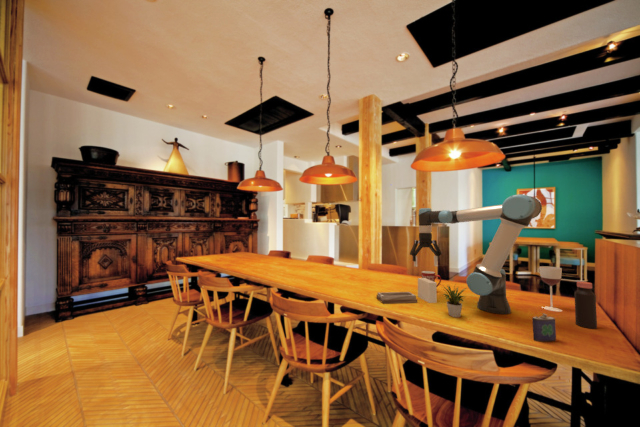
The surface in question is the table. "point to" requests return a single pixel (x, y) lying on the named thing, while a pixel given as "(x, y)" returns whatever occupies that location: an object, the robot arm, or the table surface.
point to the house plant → (454, 302)
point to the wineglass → (551, 281)
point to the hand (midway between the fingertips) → (425, 266)
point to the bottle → (585, 306)
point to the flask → (544, 329)
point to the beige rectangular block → (427, 290)
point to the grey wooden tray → (396, 297)
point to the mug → (430, 276)
